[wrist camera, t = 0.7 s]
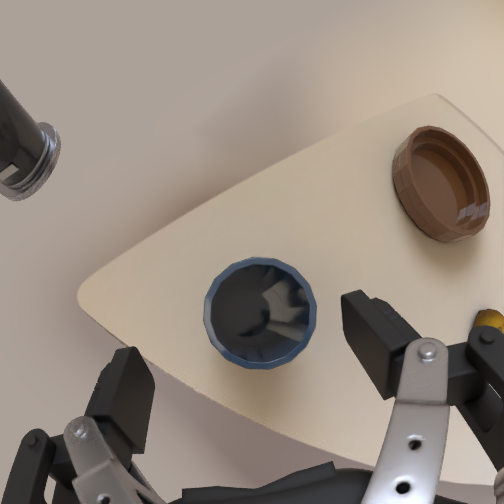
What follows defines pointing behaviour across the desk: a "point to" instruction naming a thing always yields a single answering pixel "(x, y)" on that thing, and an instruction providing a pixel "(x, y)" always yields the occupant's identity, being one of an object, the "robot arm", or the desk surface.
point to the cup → (260, 313)
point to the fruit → (490, 319)
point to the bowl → (441, 185)
